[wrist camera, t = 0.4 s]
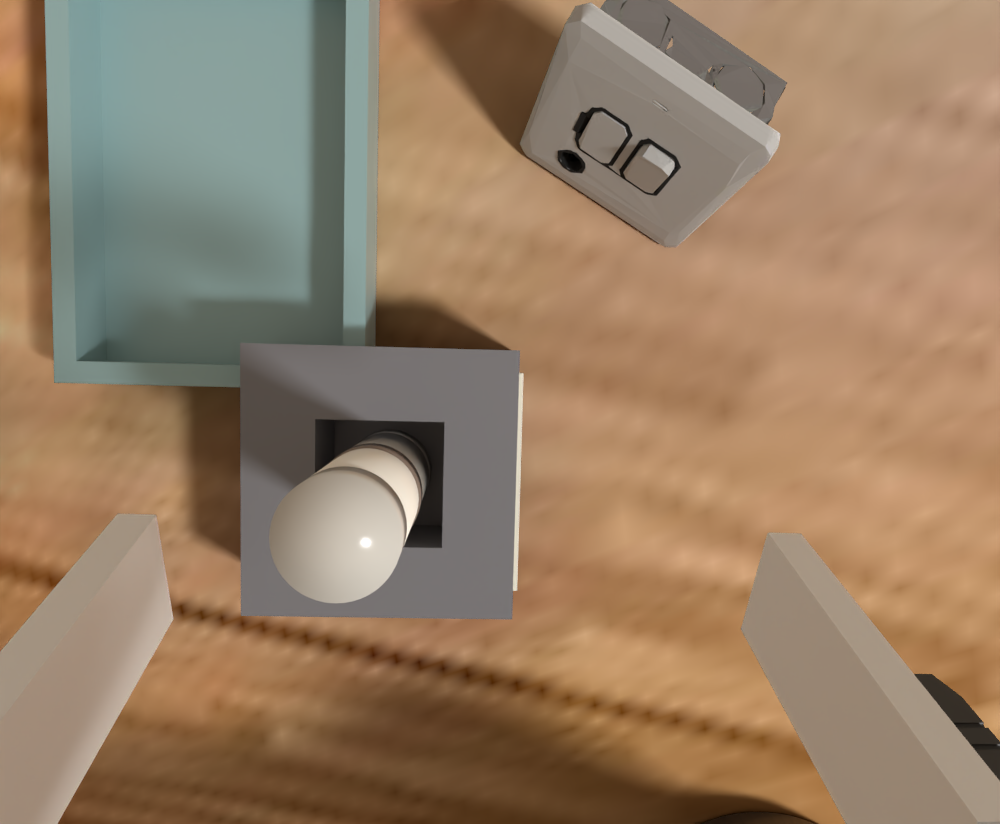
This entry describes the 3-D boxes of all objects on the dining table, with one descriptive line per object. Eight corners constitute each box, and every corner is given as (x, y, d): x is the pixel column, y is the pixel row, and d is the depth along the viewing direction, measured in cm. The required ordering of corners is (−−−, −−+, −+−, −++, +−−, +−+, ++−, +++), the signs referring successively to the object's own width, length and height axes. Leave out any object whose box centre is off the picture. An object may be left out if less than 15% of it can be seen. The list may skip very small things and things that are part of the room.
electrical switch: (514, 151, 33) (542, 51, 24) (568, 66, 34) (617, -66, 24) (669, 254, 34) (755, 195, 25) (721, 170, 34) (826, 80, 25)
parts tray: (374, 387, 34) (364, 390, 31) (93, 380, 33) (54, 382, 30) (379, -26, 32) (369, -67, 29) (84, -40, 32) (42, -82, 29)
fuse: (431, 510, 34) (402, 605, 21) (349, 509, 33) (267, 603, 20) (433, 429, 33) (404, 474, 20) (349, 427, 33) (267, 471, 20)
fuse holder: (512, 582, 35) (517, 619, 30) (275, 578, 35) (240, 615, 30) (518, 351, 34) (525, 350, 29) (275, 345, 34) (239, 342, 29)
